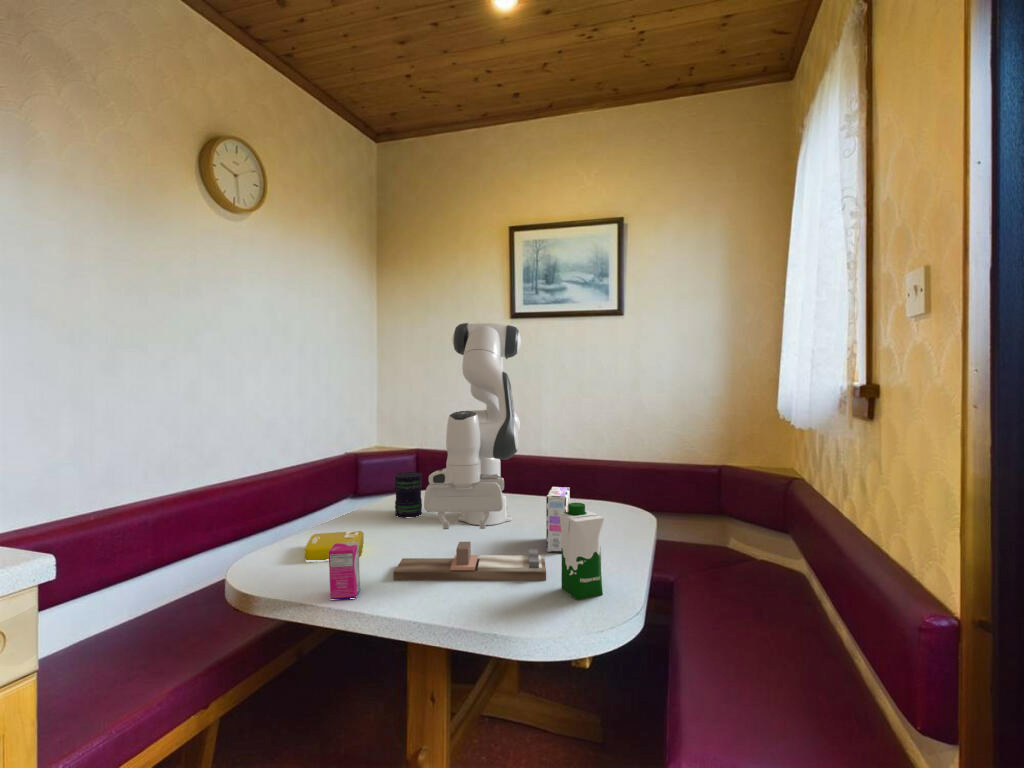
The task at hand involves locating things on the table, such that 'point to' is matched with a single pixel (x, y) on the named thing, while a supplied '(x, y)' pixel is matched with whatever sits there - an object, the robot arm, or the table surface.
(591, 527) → the milk carton
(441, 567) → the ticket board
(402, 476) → the storage jar
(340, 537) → the element tile
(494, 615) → the table surface
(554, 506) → the candy box
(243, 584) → the table surface
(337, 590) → the supplement box
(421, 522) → the table surface
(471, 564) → the pink plate with handle
